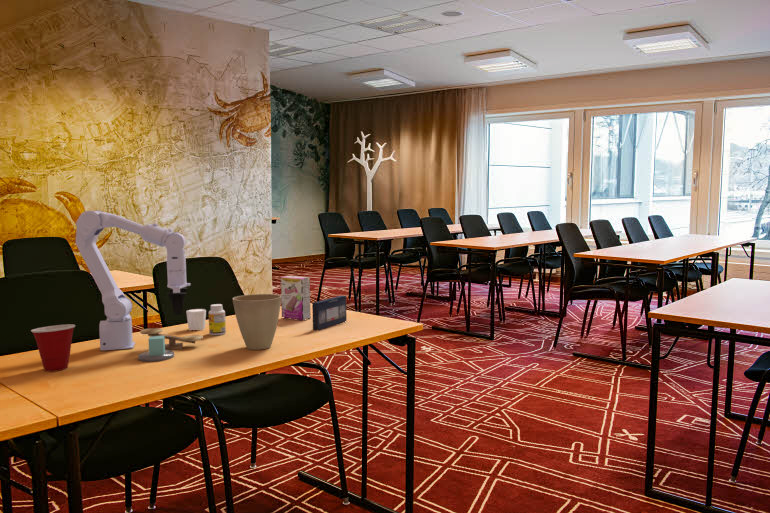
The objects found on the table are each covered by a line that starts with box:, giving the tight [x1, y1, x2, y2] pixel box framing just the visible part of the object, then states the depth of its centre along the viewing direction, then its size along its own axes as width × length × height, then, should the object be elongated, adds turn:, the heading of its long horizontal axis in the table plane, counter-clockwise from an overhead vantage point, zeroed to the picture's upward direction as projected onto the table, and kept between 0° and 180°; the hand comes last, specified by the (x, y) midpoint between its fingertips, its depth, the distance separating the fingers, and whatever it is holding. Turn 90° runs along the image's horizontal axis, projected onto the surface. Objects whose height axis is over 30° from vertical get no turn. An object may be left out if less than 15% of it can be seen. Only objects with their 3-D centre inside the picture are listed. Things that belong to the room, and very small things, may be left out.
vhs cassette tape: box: [311, 295, 348, 331], centre depth 225 cm, size 18×3×10 cm, turn 148°
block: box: [147, 336, 166, 356], centre depth 181 cm, size 4×4×5 cm
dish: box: [137, 350, 175, 363], centre depth 181 cm, size 10×10×1 cm
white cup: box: [186, 308, 207, 331], centre depth 222 cm, size 7×7×7 cm
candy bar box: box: [280, 275, 311, 321], centre depth 239 cm, size 11×5×16 cm, turn 58°
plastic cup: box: [30, 323, 76, 372], centre depth 170 cm, size 11×11×12 cm
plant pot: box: [232, 293, 281, 351], centre depth 192 cm, size 15×15×16 cm
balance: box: [139, 327, 204, 351], centre depth 193 cm, size 18×6×6 cm, turn 106°
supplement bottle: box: [208, 303, 227, 336], centre depth 213 cm, size 6×6×10 cm
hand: (178, 312), depth 198 cm, fingers open, 7 cm apart
